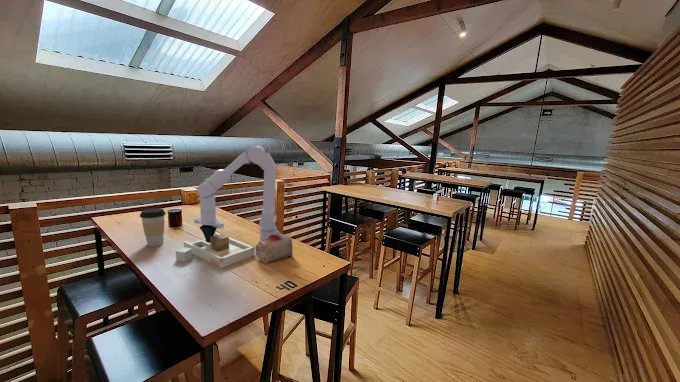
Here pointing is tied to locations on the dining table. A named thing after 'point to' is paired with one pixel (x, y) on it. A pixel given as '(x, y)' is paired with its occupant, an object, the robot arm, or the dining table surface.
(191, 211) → the dining table surface
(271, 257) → the grey-brown rough block
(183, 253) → the grey block
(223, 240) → the walnut block
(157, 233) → the coffee cup
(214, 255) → the tray
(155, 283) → the dining table surface
